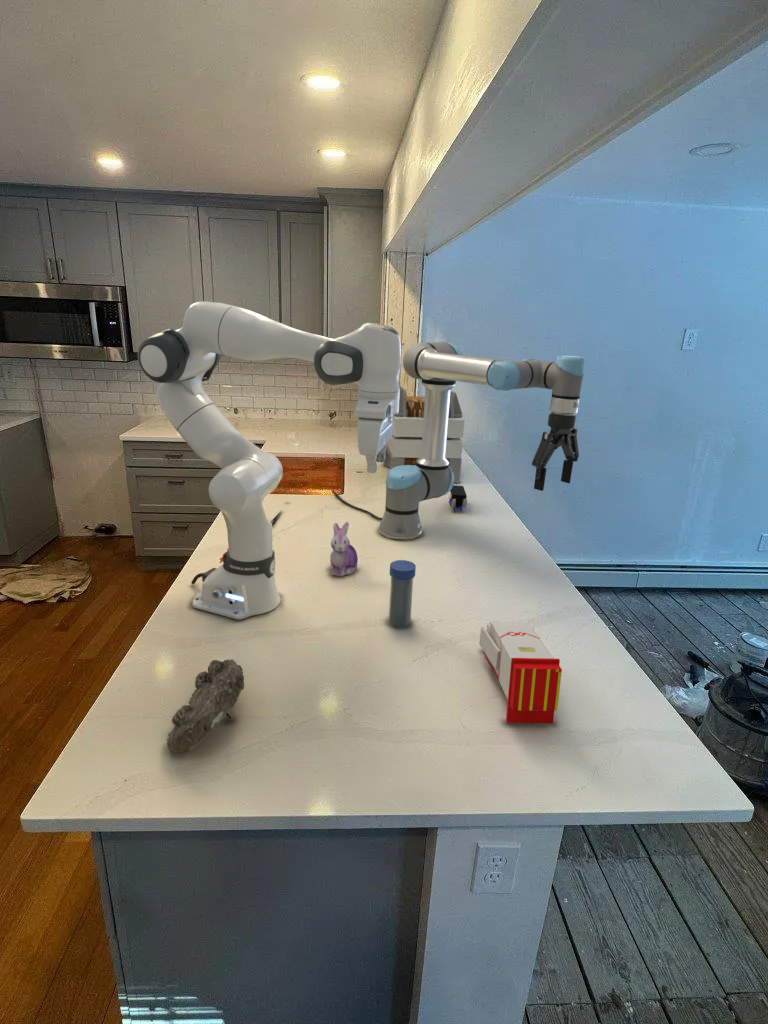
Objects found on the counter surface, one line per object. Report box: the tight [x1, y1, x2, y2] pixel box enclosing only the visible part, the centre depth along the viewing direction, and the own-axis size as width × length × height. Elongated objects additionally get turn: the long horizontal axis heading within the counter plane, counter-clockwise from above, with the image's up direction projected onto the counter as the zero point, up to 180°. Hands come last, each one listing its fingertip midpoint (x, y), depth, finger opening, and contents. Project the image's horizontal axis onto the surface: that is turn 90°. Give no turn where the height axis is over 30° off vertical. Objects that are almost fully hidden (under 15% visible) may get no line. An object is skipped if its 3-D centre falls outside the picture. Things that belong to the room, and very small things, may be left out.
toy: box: [478, 620, 563, 725], centre depth 121 cm, size 12×13×30 cm
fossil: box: [166, 658, 245, 754], centre depth 106 cm, size 22×10×15 cm
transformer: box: [382, 384, 465, 484], centre depth 268 cm, size 34×33×41 cm
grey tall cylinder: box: [388, 576, 414, 629], centre depth 141 cm, size 6×6×16 cm
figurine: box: [329, 521, 359, 577], centre depth 168 cm, size 9×10×15 cm
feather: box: [270, 510, 282, 527], centre depth 212 cm, size 2×28×2 cm
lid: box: [389, 559, 416, 580], centre depth 139 cm, size 6×6×2 cm
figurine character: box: [448, 484, 468, 512], centre depth 228 cm, size 7×8×15 cm
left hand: (376, 466), depth 125 cm, fingers open, 8 cm apart
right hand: (552, 485), depth 166 cm, fingers open, 13 cm apart
